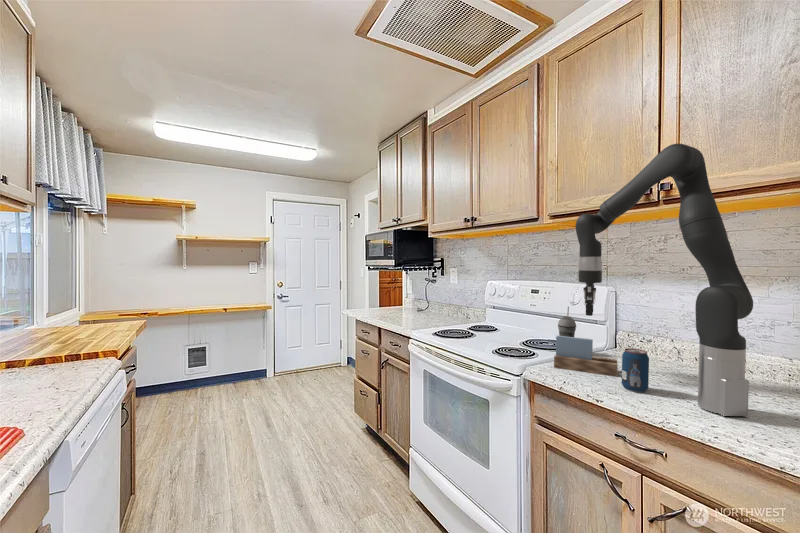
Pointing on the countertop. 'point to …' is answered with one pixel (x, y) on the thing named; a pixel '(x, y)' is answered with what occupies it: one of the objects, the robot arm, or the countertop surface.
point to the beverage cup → (567, 326)
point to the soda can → (635, 370)
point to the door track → (587, 365)
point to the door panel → (574, 347)
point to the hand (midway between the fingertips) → (589, 314)
